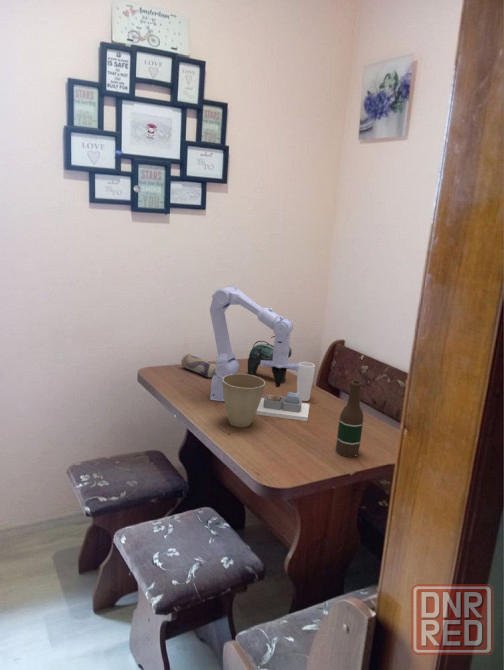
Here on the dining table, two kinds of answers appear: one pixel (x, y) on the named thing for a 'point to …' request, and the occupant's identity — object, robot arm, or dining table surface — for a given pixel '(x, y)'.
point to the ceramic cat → (262, 357)
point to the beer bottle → (350, 423)
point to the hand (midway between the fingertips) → (277, 386)
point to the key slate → (292, 397)
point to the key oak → (274, 398)
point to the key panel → (283, 409)
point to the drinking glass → (305, 380)
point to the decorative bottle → (199, 365)
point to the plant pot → (242, 397)
